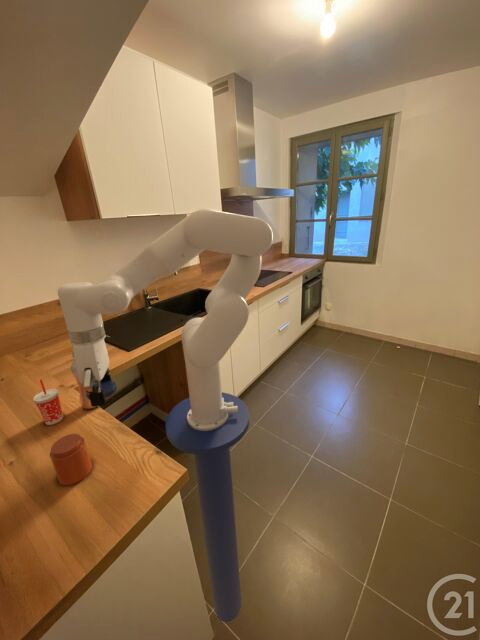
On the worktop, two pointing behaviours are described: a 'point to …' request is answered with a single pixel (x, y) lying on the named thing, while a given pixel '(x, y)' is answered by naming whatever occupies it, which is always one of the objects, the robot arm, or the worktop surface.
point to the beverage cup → (49, 405)
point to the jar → (70, 459)
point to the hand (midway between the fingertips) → (102, 395)
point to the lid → (106, 388)
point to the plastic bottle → (81, 387)
